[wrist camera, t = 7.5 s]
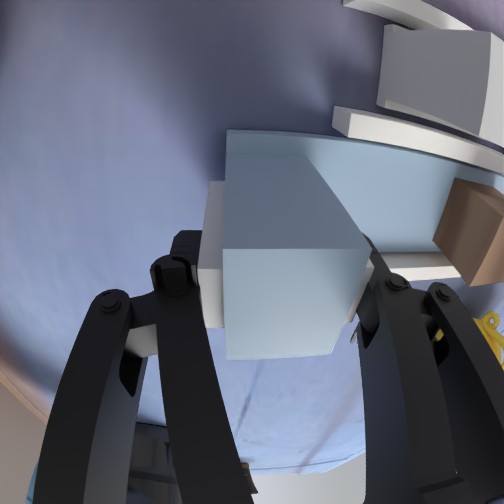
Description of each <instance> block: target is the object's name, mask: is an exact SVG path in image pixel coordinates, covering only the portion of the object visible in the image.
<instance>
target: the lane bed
mask: <svg viewBox="0 0 504 504" xmlns="http://www.w3.org/2000/svg"><path fill="white" fill-rule="evenodd" d="M343 6H346V7H350V8H353V9H357V10H361V11H364V12H368V13H371V14H374V15H377V16H380V17H383V18H386V19H389V20H392V21H395V22H398V23H400V24H403V25H405V26H408V27H410V28H413V29H415V30H408V29H405V28H403V27H400V26H397V25H395V24H389V25H384V36H383V49H382V60H381V70H380V79H379V87H378V95H377V102H376V105H378V106H381V107H384V108H387V109H392V110H396V111H400V112H403V113H407V114H411V115H414V116H418V117H421V118H425V119H428V120H431V121H434V122H437V123H440V124H443V125H446V126H449V127H452V128H455V129H458V130H460V131H463V132H466V133H468V134H471V135H473V136H476V137H478V138H481V139H483V140H488V141H490V142H493V143H495V144H497V145H499V146H501V147H503V148H504V42H503V41H502V40H501V39H500V38H498V37H497V36H496V35H494V34H493V33H492V32H486V31H475V30H473V29H472V28H470V27H469V26H467V25H465V24H464V23H462V22H460V21H459V20H457V19H455V18H454V17H452V16H450V15H448V14H446V13H445V12H443V11H441V10H439V9H437V8H435V7H433V6H431V5H429V4H427V3H425V2H423V1H421V0H343ZM332 127H333V128H335V129H336V130H338V131H339V132H341V133H342V134H344V135H345V136H347V137H349V138H357V139H363V140H370V141H376V142H381V143H387V144H392V145H397V146H402V147H407V148H412V149H417V150H421V151H425V152H430V153H434V154H438V155H442V156H446V157H449V158H453V159H457V160H460V161H464V162H467V163H470V164H474V165H477V166H480V167H483V168H486V169H489V170H492V171H495V172H498V173H501V174H504V154H503V153H500V152H498V151H496V150H493V149H491V148H489V147H486V146H484V145H481V144H479V143H476V142H474V141H471V140H468V139H465V138H463V137H460V136H457V135H454V134H451V133H448V132H445V131H442V130H439V129H436V128H432V127H429V126H425V125H422V124H418V123H415V122H411V121H407V120H403V119H399V118H395V117H391V116H386V115H382V114H377V113H372V112H367V111H362V110H357V109H351V108H345V107H339V106H334V111H333V119H332ZM378 253H380V255H381V256H382V258H383V260H384V261H385V263H386V264H387V266H388V268H389V269H390V271H391V272H393V273H397V274H399V275H401V276H403V277H404V278H405V279H406V280H407V281H414V280H429V279H442V278H454V277H461V275H460V274H459V273H458V271H457V270H456V269H455V267H454V266H453V265H452V264H451V262H450V261H449V260H448V259H447V257H446V256H445V255H444V254H443V253H442V251H430V252H378Z"/></svg>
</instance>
